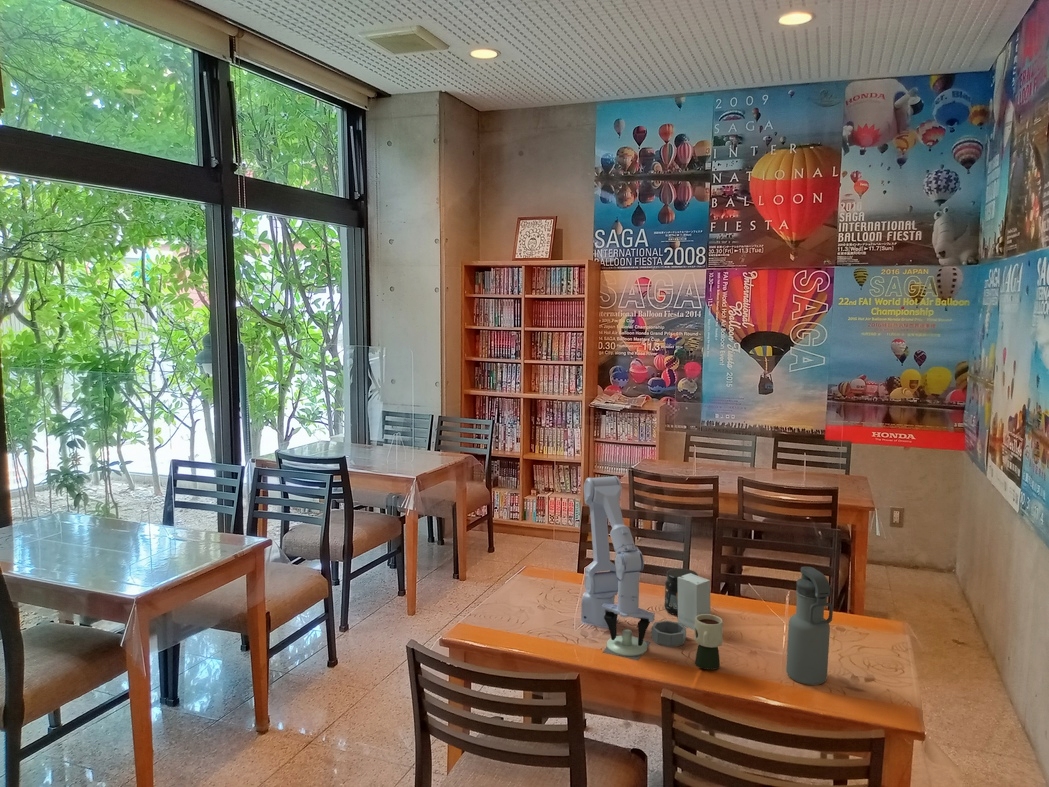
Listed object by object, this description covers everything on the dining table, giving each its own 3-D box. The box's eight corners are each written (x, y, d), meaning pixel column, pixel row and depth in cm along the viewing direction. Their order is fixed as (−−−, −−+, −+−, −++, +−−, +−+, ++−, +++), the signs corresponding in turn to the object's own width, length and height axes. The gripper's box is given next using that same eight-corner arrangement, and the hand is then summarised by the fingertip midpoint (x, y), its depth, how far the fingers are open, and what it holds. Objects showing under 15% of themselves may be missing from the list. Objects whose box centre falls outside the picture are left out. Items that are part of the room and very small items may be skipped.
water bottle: (836, 685, 182) (842, 577, 179) (801, 689, 180) (807, 580, 177) (811, 665, 192) (817, 563, 189) (778, 669, 190) (783, 565, 187)
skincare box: (710, 629, 214) (712, 580, 212) (696, 634, 210) (698, 584, 209) (689, 619, 221) (691, 571, 219) (675, 623, 217) (677, 575, 216)
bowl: (648, 644, 204) (648, 630, 203) (657, 631, 212) (657, 618, 211) (680, 651, 200) (680, 637, 199) (687, 638, 208) (688, 624, 207)
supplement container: (675, 601, 234) (677, 565, 233) (704, 610, 227) (706, 573, 226) (657, 610, 227) (658, 573, 226) (686, 620, 220) (688, 582, 218)
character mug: (697, 655, 197) (699, 609, 196) (724, 660, 195) (726, 613, 193) (689, 673, 188) (691, 624, 186) (717, 679, 185) (719, 630, 183)
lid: (601, 651, 198) (601, 635, 197) (614, 635, 208) (614, 620, 207) (640, 659, 193) (640, 643, 193) (651, 643, 203) (652, 627, 203)
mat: (602, 654, 197) (602, 652, 197) (616, 636, 208) (616, 634, 208) (637, 662, 193) (637, 660, 193) (650, 643, 204) (650, 641, 204)
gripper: (598, 594, 198) (597, 641, 200) (650, 604, 192) (648, 653, 194) (606, 585, 205) (605, 631, 206) (657, 594, 198) (655, 642, 200)
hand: (627, 641), depth 200 cm, fingers open, 7 cm apart
